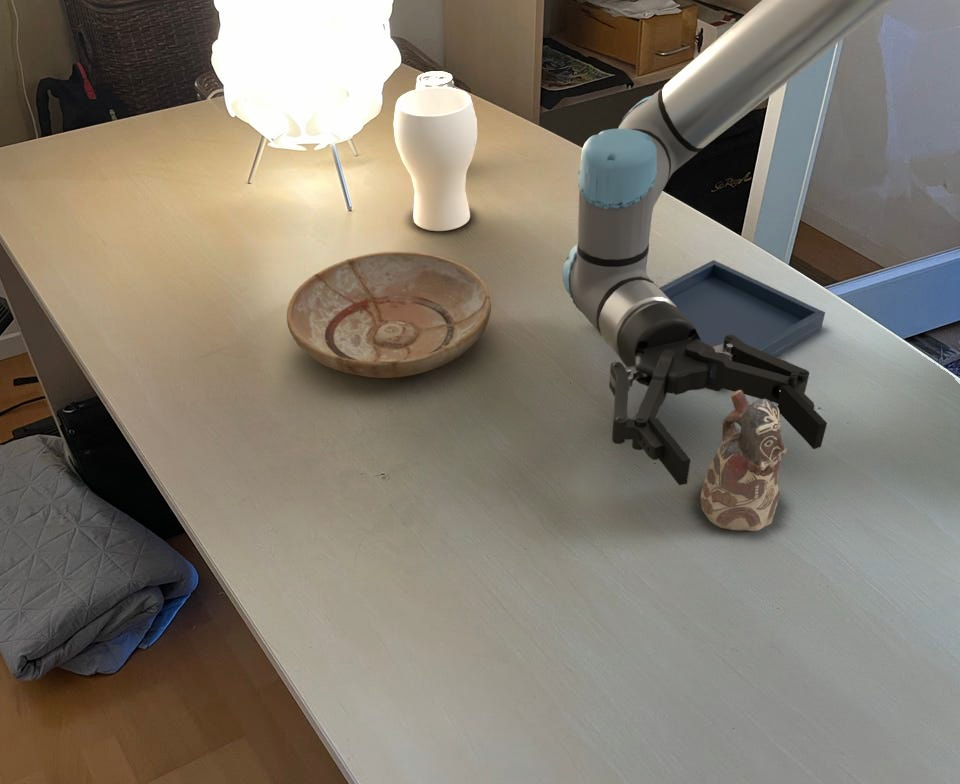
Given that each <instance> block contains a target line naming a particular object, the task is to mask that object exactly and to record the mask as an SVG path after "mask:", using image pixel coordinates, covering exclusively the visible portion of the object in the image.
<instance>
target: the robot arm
mask: <svg viewBox="0 0 960 784" xmlns="http://www.w3.org/2000/svg"><path fill="white" fill-rule="evenodd" d="M892 1H893V0H760V1H759V2H758V3H757V4H756V5H755V6H754V7H752V8H751V9H749V11H748V12H747V13H745V14H744V15H743V16H742V17H741V18H740V19H739V20H737V21H736V22H735V23H734V24H733V25H732V26H730V27H729V28H728V29H727V30H726V31H725V32H723V34H722V35H720V36H719V37H718V38H717V39H716V40H714V41H713V42H712V43H711V44H710V45H709V46H708V47H707V48H705V49H704V50H703V51H702V52H701V53H699V55H697V56H696V57H695V58H694V59H693V60H691V61H690V62H689V63H687V65H686V66H684V67H683V68H682V69H681V70H680V71H679V72H677V73H676V74H675V75H674V76H673V77H672V78H671V79H670V80H668V81H667V82H666V83H665V84H664V86H663V87H661V88H659V90H658V91H656V92H654V94H653V95H650V96H646V97H644V98H643V99H641V100H640V101H638V102H637V103H636V104H635V105H634V106H633V107H631V109H629V111H628V112H627V113H625V115H624V116H623V118H622V120H621V122H620V123H619V126H618V128H611V129H610V128H609V129H605V130H602V131H600V132H599V133H598V134H593V135H591V136H590V137H589V138H587V140H586V141H585V142H584V144H583V146H582V149H581V154H580V155H581V156H580V166H579V170H578V175H577V183H578V184H577V185H578V186H577V187H578V219H577V221H578V222H577V244H575V246H573V247H572V249H570V250H569V252H568V255H567V258H566V259H565V262H564V263H563V265H562V272H561V273H562V274H561V275H562V283H563V285H564V288H565V291H566V292H567V293H568V295H569V297H570V298H571V299H572V303H573V304H574V305H575V308H576V309H578V311H579V312H581V313H582V315H584V317H585V318H586V319H587V320H588V321H589V322H590V324H591V325H592V326H593V327H594V328H595V330H596V331H597V332H598V333H599V334H600V336H601V337H602V338H603V339H604V340H605V342H606V344H608V346H609V347H610V348H611V349H612V350H613V352H614V353H615V354H616V355H617V356H618V358H619V359H620V360H621V361H613V362H611V363H610V368H609V382H608V387H609V389H610V391H611V393H612V395H613V396H614V398H613V399H614V401H613V414H612V415H613V417H612V433H611V442H612V443H613V444H615V445H622V444H624V443H625V441H627V440H630V441H632V442H631V447H632V449H633V450H635V451H642V450H643V452H645V454H646V455H647V457H648V458H649V459H651V460H652V461H655V460H656V461H657V460H659V461H660V463H662V466H664V468H665V469H666V470H667V472H668V473H669V474H670V476H671V477H672V479H674V481H675V482H676V483H677V485H678V486H679V487H680V486H683V485H687V484H688V480H689V473H690V466H691V465H690V464H691V458H690V457H689V456H688V454H687V453H686V452H685V451H684V449H683V448H682V447H681V445H680V444H679V443H678V442H677V441H676V440H675V438H674V437H673V436H672V434H671V433H670V432H669V431H668V429H667V428H666V427H665V426H664V424H663V423H662V421H660V419H659V418H658V417H657V415H658V413H659V411H660V408H661V406H663V404H664V401H665V399H666V398H667V395H668V394H674V395H675V396H678V395H681V394H685V393H687V392H689V391H697V390H701V389H707V390H711V391H715V392H719V391H721V390H723V389H724V390H727V391H732V392H733V393H734V392H736V391H738V390H742V391H743V393H744V395H745V396H748V397H752V398H756V399H758V400H759V399H767V400H769V401H771V402H772V403H773V404H777V405H776V406H777V407H778V409H779V411H780V416H782V418H783V419H784V420H785V421H786V422H787V423H788V424H789V425H790V426H791V427H792V428H793V429H794V430H795V432H796V433H798V434H799V436H801V438H802V439H803V440H804V441H805V442H806V443H807V444H808V445H809V446H810V447H811V449H813V450H816V449H819V448H821V447H822V445H823V444H822V443H823V439H824V437H825V432H826V428H827V426H828V422H827V421H826V420H825V419H824V418H823V417H822V416H821V415H820V414H819V413H818V412H817V411H816V410H815V403H814V402H813V401H812V400H811V399H810V397H808V395H806V393H805V392H806V389H807V386H808V381H809V377H810V371H809V370H807V369H806V368H803V367H800V366H798V365H795V364H793V363H791V362H789V361H786V360H784V359H781V358H779V357H778V356H777V357H775V356H772V355H770V354H767V353H765V352H763V351H760V350H758V349H756V348H753V347H751V346H749V345H746V344H745V343H743V342H742V341H741V340H740V339H739V338H737V337H736V336H734V335H726V336H725V338H724V343H723V344H720V345H717V346H714V347H712V346H711V345H709V344H706V343H704V342H703V341H701V339H700V337H699V335H698V333H697V331H696V329H695V327H694V325H693V324H692V323H691V322H690V321H689V320H688V319H687V317H686V316H685V315H684V314H683V313H682V312H681V311H680V310H679V309H678V308H677V307H676V305H675V304H674V303H673V302H672V301H671V300H670V299H669V298H668V297H667V296H666V295H665V294H664V293H663V292H662V291H661V290H660V289H659V288H660V287H658V285H657V284H656V283H655V282H654V281H653V280H652V279H651V278H650V277H649V276H648V273H647V269H648V257H649V249H650V235H651V226H652V218H653V212H654V208H655V205H656V204H657V202H658V200H659V198H660V196H661V194H662V193H663V191H664V189H665V187H666V186H667V184H668V182H669V180H670V179H671V177H672V175H673V174H674V173H675V172H676V171H677V170H678V169H680V168H681V167H682V166H683V165H684V164H686V163H687V162H688V161H690V160H691V159H692V158H693V157H694V156H696V155H697V154H698V153H699V152H700V151H702V150H703V149H704V148H705V147H707V146H708V145H709V144H710V143H711V142H713V141H715V139H716V138H718V137H719V136H720V135H722V134H723V133H724V132H725V131H727V130H728V129H729V128H731V127H732V126H733V125H734V124H736V123H737V122H739V121H740V120H741V119H742V118H744V117H745V116H746V115H747V114H749V113H750V112H751V111H753V110H754V109H755V108H756V107H758V106H759V105H760V104H762V103H763V102H764V101H766V100H767V99H768V98H770V97H771V96H772V95H774V93H776V92H777V91H779V90H780V89H781V88H783V86H785V85H786V84H787V83H789V82H790V81H791V80H793V79H794V78H795V77H796V76H798V75H799V74H800V73H801V72H803V71H804V70H805V69H807V68H808V67H809V66H811V64H813V63H814V62H816V61H817V60H818V59H820V58H821V57H822V56H823V55H825V54H826V53H827V52H829V51H830V50H831V49H832V48H834V47H835V46H836V45H838V43H839V44H840V42H841V41H842V40H844V38H846V37H848V36H849V35H850V34H851V33H853V32H854V31H856V30H857V29H858V28H860V26H862V25H863V24H864V23H865V22H867V21H868V20H870V19H871V18H872V17H873V16H875V15H876V14H878V12H880V11H881V10H883V9H884V8H885V7H886V6H887V5H889V4H890V3H892ZM714 364H715V365H716V366H717V371H716V377H715V379H714V378H711V373H712V369H713V365H714ZM624 365H625V366H624ZM634 381H636V382H637V383H639V384H640V385H643V386H646V387H647V389H646V391H645V394H644V396H643V398H642V400H641V402H640V405H639V407H638V409H637V411H636V413H635V415H634V417H633V418H628V401H629V399H628V398H629V391H630V388H631V387H633V385H634Z"/></svg>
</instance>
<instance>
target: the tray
mask: <svg viewBox="0 0 960 784" xmlns="http://www.w3.org/2000/svg"><path fill="white" fill-rule="evenodd" d="M658 288H659V289H660V290H661V291H662V292H663V293H664V294H665V295H666V296H667V297H668V298H669V299H670V300H671V301H672V302H673V303H674V304H675V305H676V307H677V308H678V309H679V310H680V311H681V312H682V313H683V314H684V315H685V316H686V317H687V319H688V320H689V321H690V322H691V323H692V324H693V325H694V327H695V329H696V331H697V333H698V335H699V337H700V339H701V341H703V342H704V343H706V344H709V345H711V346H712V347H714V346H717V345H720V344H723V343H724V338H725V336H726V335H734V336H736V337H737V338H739V339H740V340H741V341H742V342H743V343H745V344H746V345H749V346H751V347H753V348H756V349H758V350H760V351H763V352H765V353H767V354H770V355H772V356H775V357H777V358H778V357H779V356H781V355H782V354H784V353H785V352H787V351H789V350H791V349H792V348H794V347H795V346H797V345H799V344H800V343H802V342H804V341H805V340H807V339H809V338H811V337H812V336H815V334H817V333H819V332H821V331H822V327H823V323H824V319H825V315H826V312H825V311H823V310H821V309H819V308H817V307H814V306H813V305H810V304H808V303H806V302H805V301H802V300H800V299H797V298H796V297H793V296H791V295H789V294H787V293H784V292H783V291H780V290H779V289H777V288H774V287H772V286H770V285H768V284H765V283H763V282H761V281H759V280H757V279H755V278H753V277H751V276H748V275H746V274H745V273H742V272H741V271H738V270H736V269H734V268H732V267H729V266H728V265H725V264H723V263H721V262H719V261H717V260H715V259H712V260H710V261H709V262H707V263H705V264H703V265H701V266H699V267H697V268H695V269H693V270H691V271H689V272H687V273H685V274H683V275H682V276H679V277H677V278H676V279H673V280H672V281H670V282H668V283H666V284H664V285H662V286H660V287H658ZM716 371H717V366H716V365H715V364H714V365H713V369H712V373H711V378H714V379H715V377H716Z"/></svg>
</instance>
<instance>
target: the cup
mask: <svg viewBox="0 0 960 784" xmlns="http://www.w3.org/2000/svg"><path fill="white" fill-rule="evenodd" d="M476 115H477V114H476V112H475V108H474V104H473V100H472V97H471V95H470V94H469V93H467V92H466V91H464V90H462V89H459V88H455V87H454V88H450V87H427V88H421V89H416V88H415V89H414V90H410V91H407V92H406V93H404V94H402V95H401V96H400V97H398V99H397V101H396V102H395V109H394V118H393V132H394V142H395V145H396V148H397V151H398V154H399V156H400V159H401V161H402V163H403V165H404V167H405V169H406V170H407V171H408V173H409V174H410V177H411V181H412V185H413V189H414V203H413V222H414V224H415V225H416V226H417V227H419V228H421V229H423V230H426V231H433V232H445V231H450V230H455V229H458V228H460V227H462V226H464V225H466V224H467V223H468V222H469V221H470V219H471V211H470V206H469V202H468V201H469V200H468V196H467V193H466V184H467V183H466V182H467V172H468V169H469V167H470V164H471V162H472V160H473V159H474V153H475V149H476V144H477V141H478V119H477V116H476Z"/></svg>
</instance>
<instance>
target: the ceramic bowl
mask: <svg viewBox="0 0 960 784" xmlns="http://www.w3.org/2000/svg"><path fill="white" fill-rule="evenodd" d="M491 312H492V301H491V295H490V292H489V289H488V287H487V286H486V284H485V283H484V281H483V280H482V278H481V277H480V276H478V275H477V274H476V273H475V272H474V271H473V270H471V269H470V268H468V267H466V266H465V265H463V264H461V263H459V262H457V261H454V260H452V259H450V258H445V257H442V256H439V255H434V254H430V253H426V252H425V253H424V252H416V251H379V252H373V253H367V254H362V255H358V256H355V257H352V258H347V259H345V260H343V261H339V262H336V263H334V264H332V265H330V266H328V267H326V268H324V269H322V270H320V271H318V272H316V273H315V274H313V275H312V276H310V277H309V278H307V280H305V281H304V282H303V283H302V284H301V285H300V286H299V287H298V288H297V289H296V291H294V293H293V294H292V297H291V298H290V300H289V303H288V306H287V310H286V322H287V323H286V324H287V327H288V331H289V333H290V334H291V336H292V338H293V339H292V340H293V341H295V343H296V344H297V345H298V347H299V348H300V349H301V350H303V351H304V352H305V353H306V354H307V355H308V356H309V357H310V358H312V359H313V360H315V361H317V362H319V363H320V364H321V365H323V366H326V367H328V368H331V369H333V370H336V371H340V372H343V373H346V374H351V375H357V376H361V377H367V378H379V379H383V378H385V379H386V378H387V379H388V378H401V377H409V376H414V375H418V374H422V373H425V372H428V371H431V370H434V369H437V368H439V367H443V366H444V365H446V364H449V363H451V362H452V361H454V360H455V359H457V358H459V357H460V356H462V355H463V354H464V353H466V351H467V350H469V349H471V347H473V345H474V344H475V343H476V342H477V340H478V339H479V338H480V337H481V335H483V332H484V331H485V330H486V329H487V326H488V323H489V320H490V317H491Z"/></svg>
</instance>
